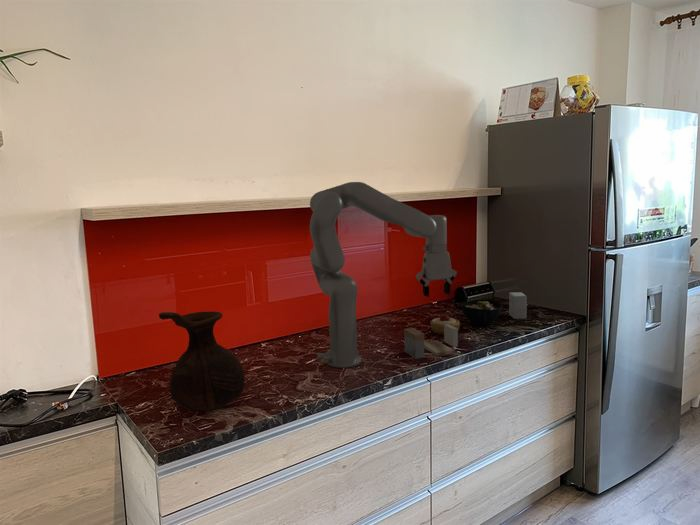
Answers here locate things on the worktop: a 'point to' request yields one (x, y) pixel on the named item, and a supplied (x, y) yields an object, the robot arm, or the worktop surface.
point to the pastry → (443, 323)
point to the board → (437, 348)
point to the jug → (204, 366)
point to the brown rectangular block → (414, 342)
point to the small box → (517, 305)
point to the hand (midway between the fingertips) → (436, 294)
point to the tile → (451, 335)
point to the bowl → (481, 311)
